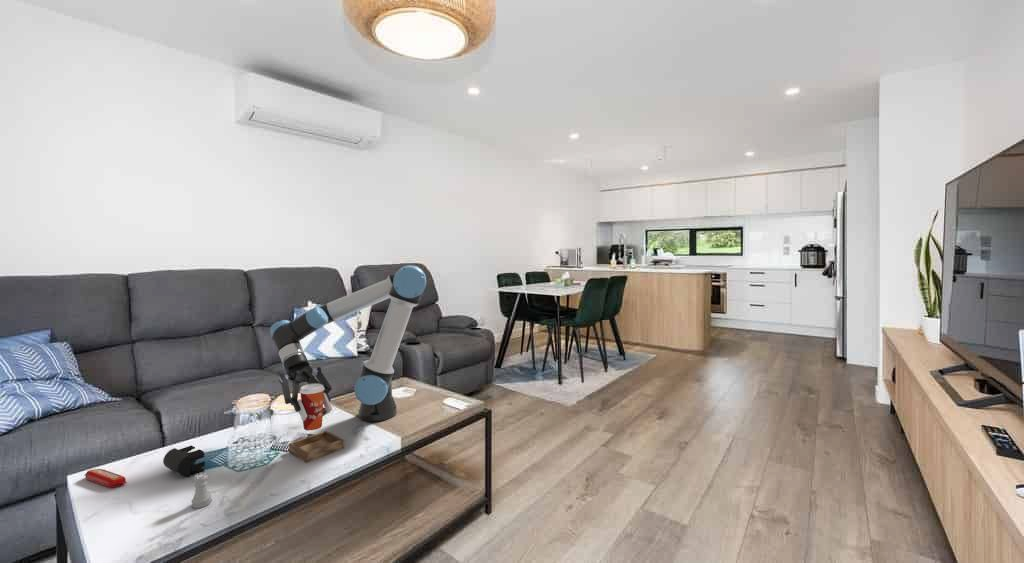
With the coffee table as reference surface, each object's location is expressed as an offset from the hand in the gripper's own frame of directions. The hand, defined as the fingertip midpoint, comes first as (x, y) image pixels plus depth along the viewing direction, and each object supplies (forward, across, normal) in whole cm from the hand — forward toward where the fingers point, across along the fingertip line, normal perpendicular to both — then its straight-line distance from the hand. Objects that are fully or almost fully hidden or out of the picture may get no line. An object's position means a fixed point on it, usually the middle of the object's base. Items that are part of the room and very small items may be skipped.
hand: (317, 414), depth 137 cm
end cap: (-5, +31, -24) cm, 40 cm away
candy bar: (-13, +47, -33) cm, 59 cm away
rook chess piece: (+12, +33, -7) cm, 36 cm away
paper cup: (+1, 0, -6) cm, 6 cm away
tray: (+7, -1, -11) cm, 13 cm away
